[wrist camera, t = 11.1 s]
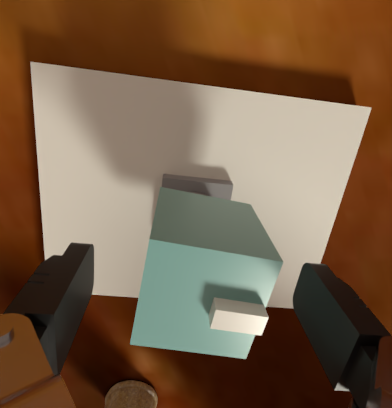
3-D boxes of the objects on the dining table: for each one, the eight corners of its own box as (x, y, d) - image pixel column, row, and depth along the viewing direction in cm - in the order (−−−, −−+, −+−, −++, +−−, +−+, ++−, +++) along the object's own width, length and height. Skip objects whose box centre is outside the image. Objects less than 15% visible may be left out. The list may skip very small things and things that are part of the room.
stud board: (356, 105, 18) (413, 113, 13) (297, 295, 23) (325, 345, 18) (43, 63, 16) (-9, 56, 12) (56, 277, 21) (23, 328, 17)
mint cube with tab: (145, 265, 15) (127, 358, 10) (160, 186, 14) (147, 249, 9) (227, 278, 16) (249, 373, 11) (250, 204, 14) (289, 272, 9)
